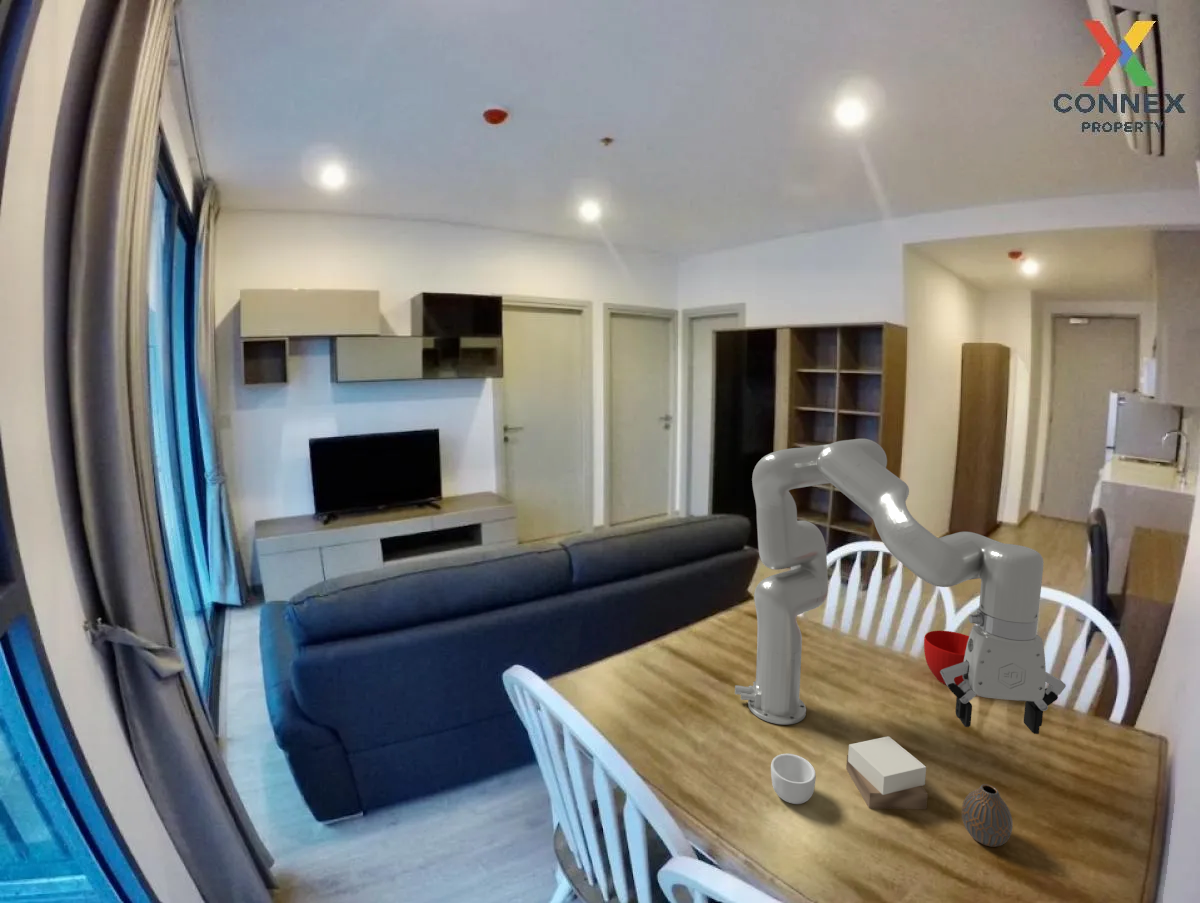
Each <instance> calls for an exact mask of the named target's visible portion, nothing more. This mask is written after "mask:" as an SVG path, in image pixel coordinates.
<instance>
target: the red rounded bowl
mask: <svg viewBox="0 0 1200 903" xmlns="http://www.w3.org/2000/svg"><path fill="white" fill-rule="evenodd" d="M969 636H970V635H967V634H965V633H964V634H963V633H960V632H956V631H950V630H932V631H928V632H926V633H925V635H924V639H923V650H924V651H923V652H924V657H925V661H926V664H927V665H926V666H928V669H929V670H930V672H931V673H932V674H933V676H935V678H936V680H937V681H938V682H940V683H941V684H943V685H945V686H947V685H946V683H945V681H944V679H943V677H942V675H941V673H940V671H941V670H942V669H945V668H948V667H950V666H953V665H956V664H959V663H962V662H964V656H965V651H966V647H967V643H968V639H969ZM963 681H964V680H963V676H962V675H961V676H958V677H955V678H954V682H955V684H956V685H957V686H958V685H959V684H960V683H962V682H963Z"/></svg>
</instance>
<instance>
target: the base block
mask: <svg viewBox="0 0 1200 903" xmlns="http://www.w3.org/2000/svg"><path fill="white" fill-rule="evenodd" d="M845 765H846V768H845V770H846V771H847V773H848V775H849V777H850V778H851V780H852V782H853V784H854V785H855V786H856V788H857V790H858V792H859V793H860V795H861V797H862V799H863V801H864V802H865V804H866V805H867V808H868V809H886V810H887V809H895V810H896V809H897V810H900V809H902V810H903V809H904V810H905V809H906V810H907V809H909V810H915V809H916V810H927V805H928V795H929V794H928V792H927V791H926V790H925V788H924V787H923V785H922V786H917V787H913V788H909V789H905V790H901V791H897V792H893V793H889V794H884V795H882V794H881V793H880V792H879V791H878V790H877V789H876V788H875V787H874V786H873V785H872V784H871V783H870V782H869V781H868V780H867V779H866V778H865V777H864V776H863V775H862V774H861V773H860V772H858V771H857V770H856V769H855V768H854V767H853V766H852V765H851V764H850V763H849V762H848V754H847V755H846V764H845Z"/></svg>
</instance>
